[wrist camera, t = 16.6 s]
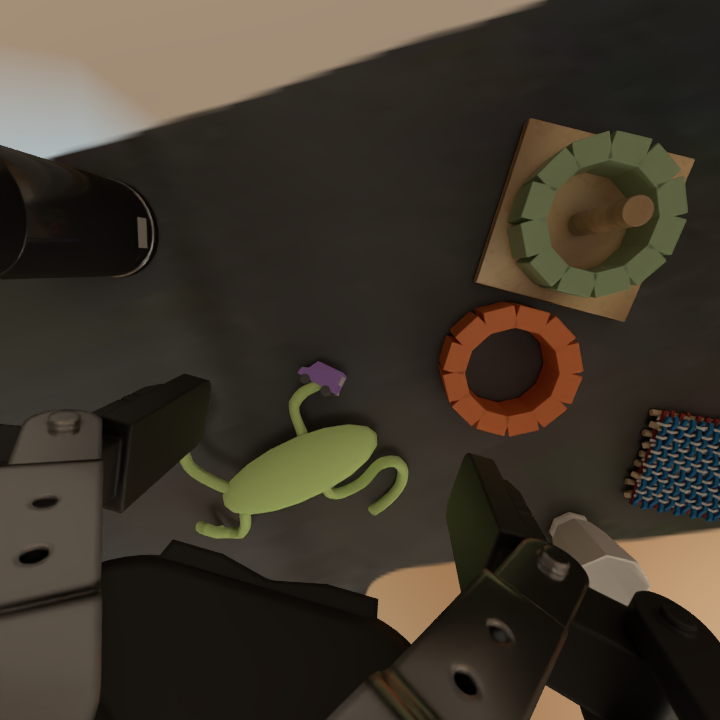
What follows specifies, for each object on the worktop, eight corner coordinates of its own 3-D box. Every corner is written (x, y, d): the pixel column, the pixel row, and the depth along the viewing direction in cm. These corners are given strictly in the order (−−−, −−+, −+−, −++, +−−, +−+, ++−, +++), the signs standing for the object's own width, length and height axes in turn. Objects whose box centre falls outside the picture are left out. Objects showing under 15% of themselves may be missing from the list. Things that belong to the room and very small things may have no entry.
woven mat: (760, 421, 38) (779, 430, 36) (718, 515, 40) (735, 528, 38) (650, 403, 38) (663, 410, 36) (616, 496, 41) (627, 508, 39)
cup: (602, 497, 41) (651, 551, 33) (606, 576, 43) (652, 645, 35) (534, 504, 42) (565, 558, 34) (541, 581, 44) (572, 649, 36)
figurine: (145, 393, 43) (108, 412, 38) (376, 339, 39) (373, 350, 34) (199, 535, 47) (174, 570, 42) (416, 498, 43) (419, 531, 38)
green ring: (489, 274, 36) (501, 275, 32) (536, 132, 33) (555, 114, 29) (618, 307, 35) (646, 312, 31) (677, 167, 32) (716, 153, 28)
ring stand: (472, 282, 37) (499, 287, 28) (524, 123, 34) (575, 66, 24) (615, 319, 37) (694, 338, 27) (682, 163, 33) (799, 121, 24)
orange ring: (425, 401, 40) (428, 415, 37) (460, 288, 37) (468, 291, 34) (537, 432, 40) (552, 449, 36) (582, 320, 37) (603, 326, 33)
